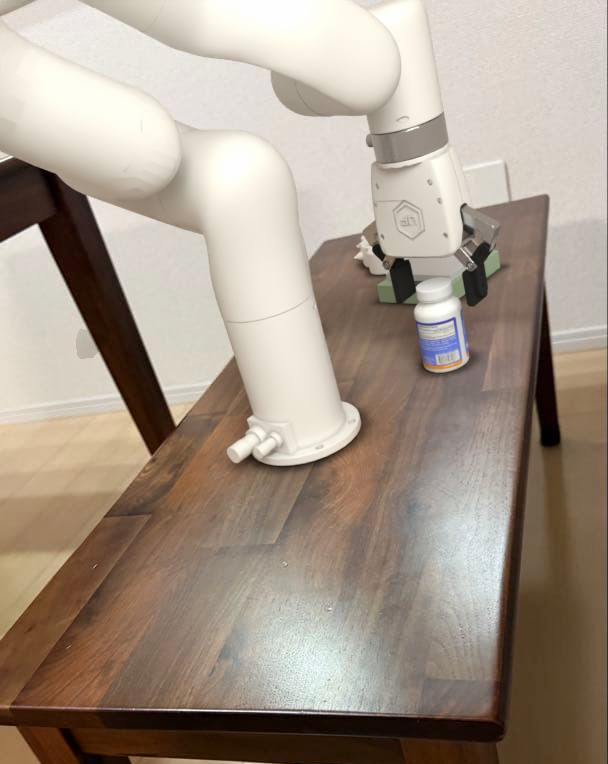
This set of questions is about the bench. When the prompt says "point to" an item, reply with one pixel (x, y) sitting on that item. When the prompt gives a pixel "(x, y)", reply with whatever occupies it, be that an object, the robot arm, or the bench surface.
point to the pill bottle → (440, 326)
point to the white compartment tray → (370, 258)
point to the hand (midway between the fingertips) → (441, 299)
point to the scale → (436, 275)
